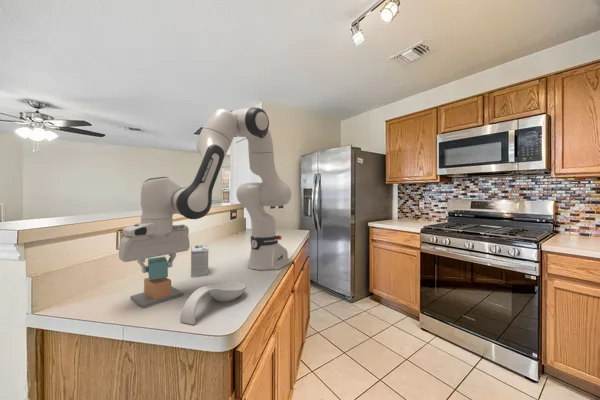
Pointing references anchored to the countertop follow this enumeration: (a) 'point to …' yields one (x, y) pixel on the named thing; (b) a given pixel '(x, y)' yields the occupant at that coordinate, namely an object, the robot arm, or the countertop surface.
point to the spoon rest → (217, 290)
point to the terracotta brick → (157, 287)
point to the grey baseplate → (147, 301)
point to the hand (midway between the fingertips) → (157, 269)
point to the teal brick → (157, 268)
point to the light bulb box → (199, 260)
